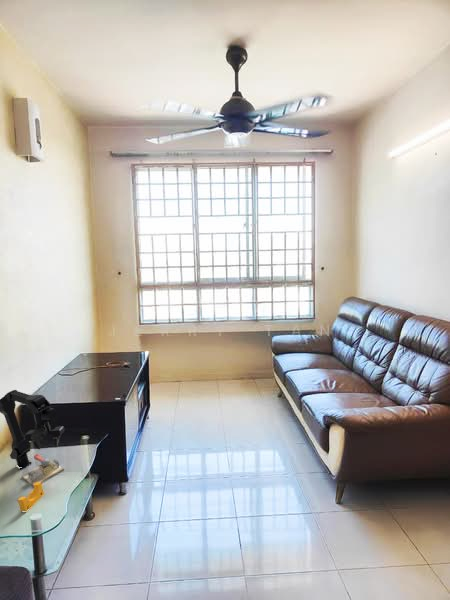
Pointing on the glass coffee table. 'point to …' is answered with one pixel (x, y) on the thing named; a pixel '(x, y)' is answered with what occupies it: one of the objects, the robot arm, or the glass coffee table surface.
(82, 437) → the glass coffee table surface
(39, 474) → the valve body
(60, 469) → the board
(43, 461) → the lever
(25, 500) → the pipe clamp
